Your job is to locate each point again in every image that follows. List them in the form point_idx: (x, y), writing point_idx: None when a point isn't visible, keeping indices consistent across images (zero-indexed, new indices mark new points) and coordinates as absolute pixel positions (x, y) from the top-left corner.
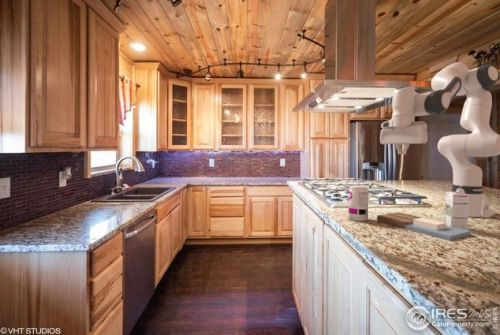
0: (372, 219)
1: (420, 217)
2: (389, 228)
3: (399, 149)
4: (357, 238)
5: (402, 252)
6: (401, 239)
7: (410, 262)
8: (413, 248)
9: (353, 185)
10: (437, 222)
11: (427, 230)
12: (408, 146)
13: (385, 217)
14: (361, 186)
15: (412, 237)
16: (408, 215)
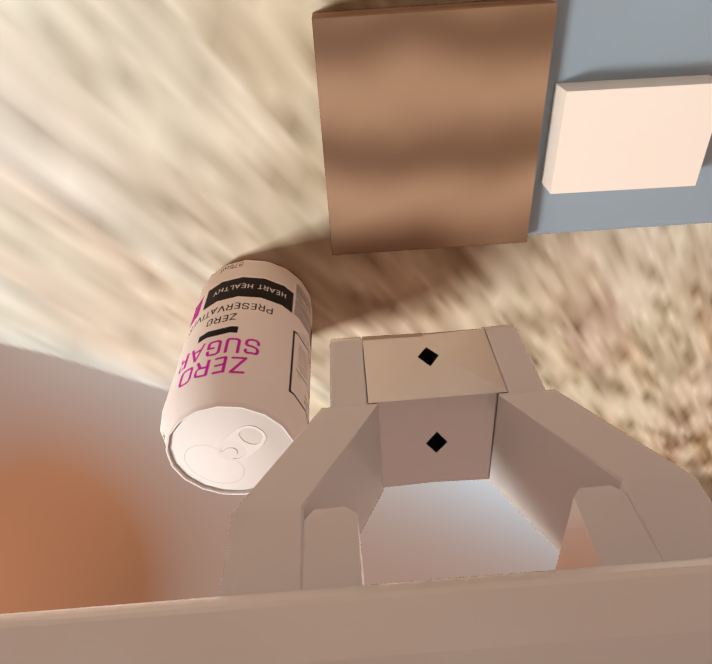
0: (288, 229)
1: (513, 15)
2: (467, 291)
3: (375, 486)
4: None
5: None
6: (590, 368)
7: None
8: (662, 404)
9: (167, 452)
10: (681, 126)
11: (646, 224)
12: (676, 493)
13: (392, 249)
14: (220, 425)
15: (607, 312)
16: (427, 43)
